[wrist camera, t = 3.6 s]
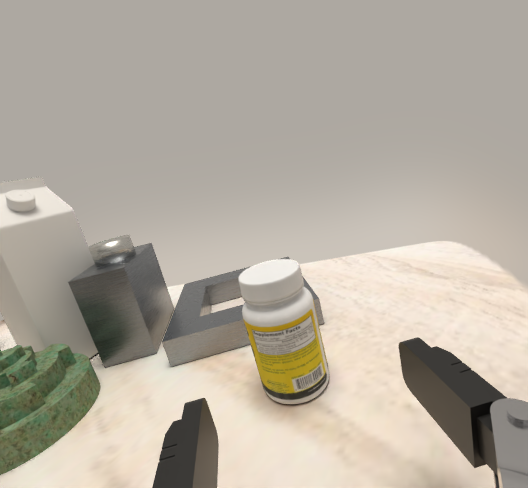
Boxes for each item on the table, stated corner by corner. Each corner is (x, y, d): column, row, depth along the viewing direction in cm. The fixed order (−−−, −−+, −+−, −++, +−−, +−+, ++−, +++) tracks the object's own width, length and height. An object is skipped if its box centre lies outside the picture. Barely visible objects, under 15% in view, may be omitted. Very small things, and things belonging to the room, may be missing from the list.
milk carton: (28, 368, 32) (-60, 195, 28) (90, 331, 38) (26, 182, 34) (61, 379, 29) (-34, 181, 24) (124, 336, 35) (58, 170, 30)
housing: (90, 389, 26) (37, 271, 23) (137, 315, 39) (107, 235, 37) (324, 323, 27) (299, 204, 24) (292, 273, 41) (273, 193, 38)
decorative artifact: (125, 385, 26) (62, 370, 31) (94, 312, 24) (33, 309, 29) (-19, 509, 17) (-73, 462, 22) (-82, 411, 16) (-125, 383, 21)
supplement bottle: (276, 356, 24) (250, 259, 22) (335, 359, 22) (313, 252, 20) (252, 403, 20) (218, 288, 18) (322, 411, 18) (293, 283, 16)
